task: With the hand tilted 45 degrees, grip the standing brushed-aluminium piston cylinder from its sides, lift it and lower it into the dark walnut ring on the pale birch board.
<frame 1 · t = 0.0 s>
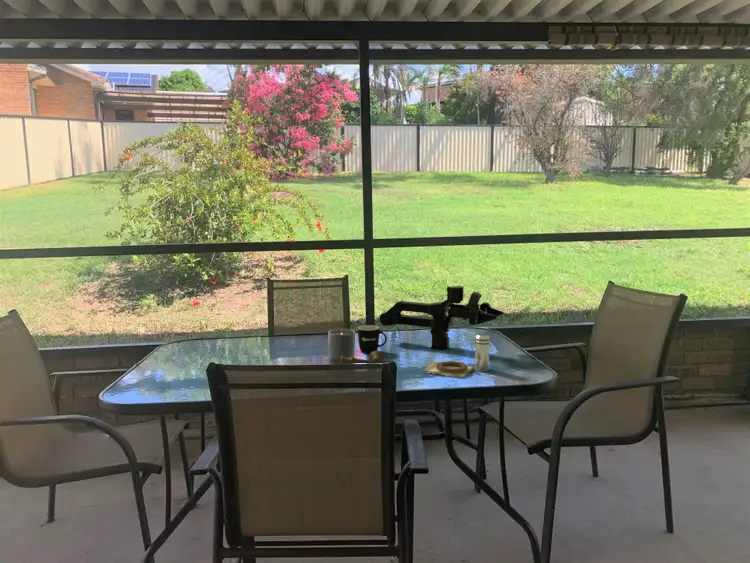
hand: (499, 315, 240), 17 cm above the table, tool horizontal, fingers open, 9 cm apart
piston: (481, 369, 224), on the table
kendama: (367, 369, 225), on the table
collar: (451, 371, 221), on the table
mug: (372, 352, 249), on the table
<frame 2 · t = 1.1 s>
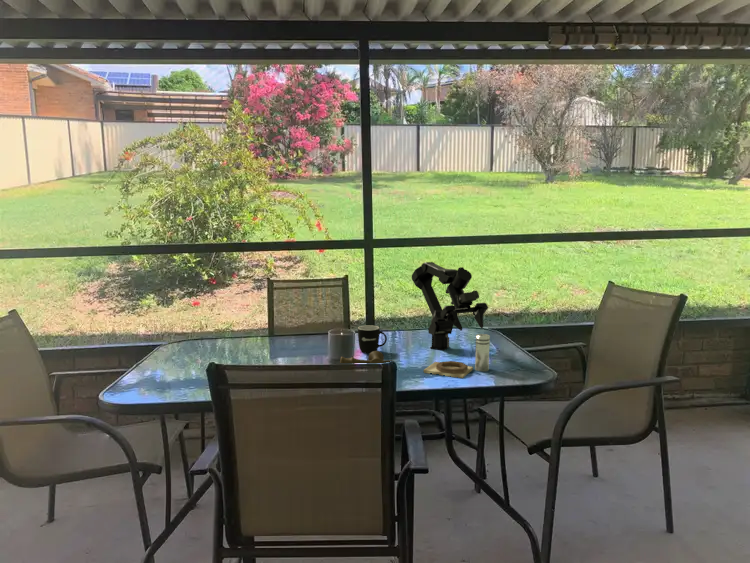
hand: (472, 328, 229), 14 cm above the table, tool tilted 45°, fingers open, 9 cm apart
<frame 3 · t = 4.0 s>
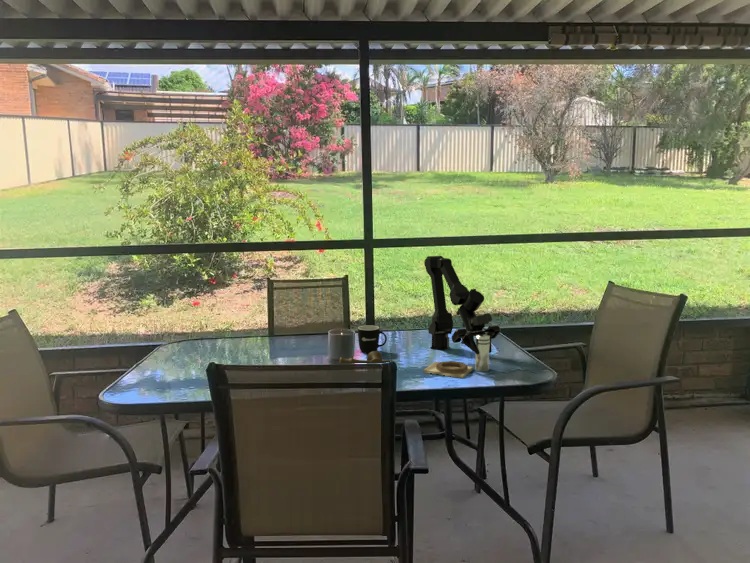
hand: (484, 353, 221), 7 cm above the table, tool tilted 45°, fingers closed on piston, 5 cm apart
piston: (481, 369, 224), on the table, touching gripper
everything else where it was.
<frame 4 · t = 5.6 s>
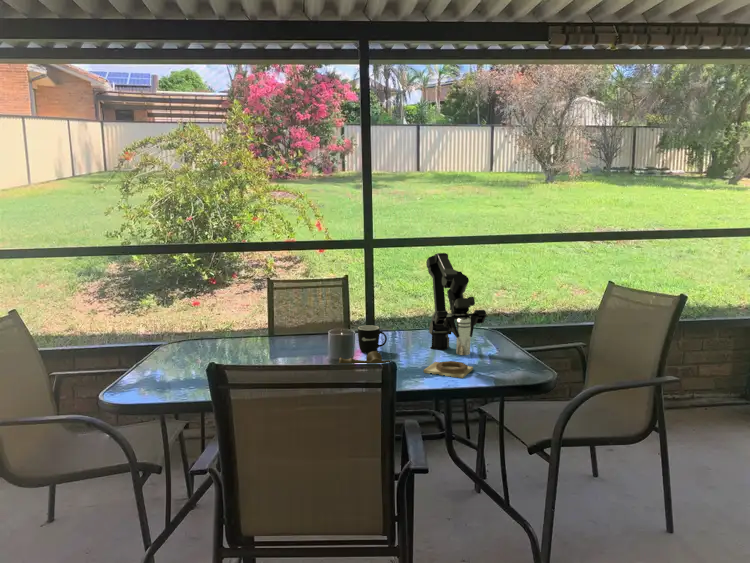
hand: (464, 336, 218), 13 cm above the table, tool tilted 45°, fingers closed on piston, 5 cm apart
piston: (463, 353, 220), point 7 cm above the table, touching gripper
when the fingers open (8 cm above the table, at t = 7.4 s): piston stays where it is, resting on collar.
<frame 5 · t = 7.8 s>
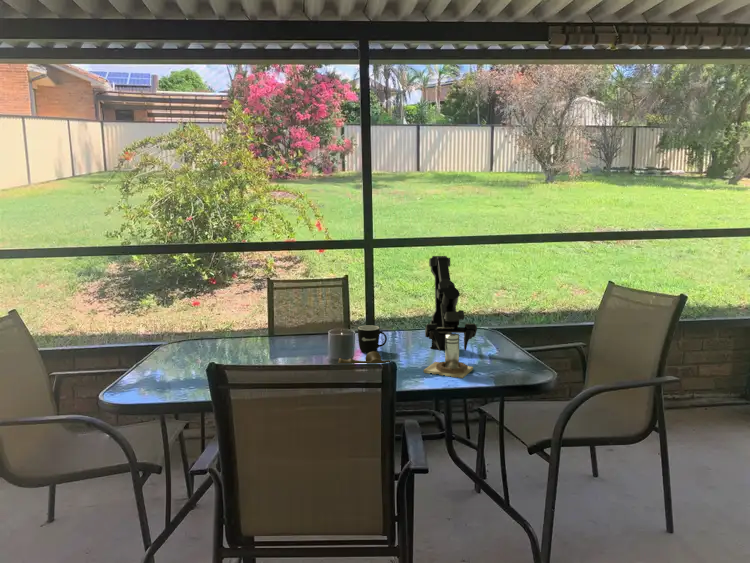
hand: (452, 350, 218), 9 cm above the table, tool tilted 45°, fingers open, 9 cm apart
piston: (451, 369, 221), point 1 cm above the table, touching collar
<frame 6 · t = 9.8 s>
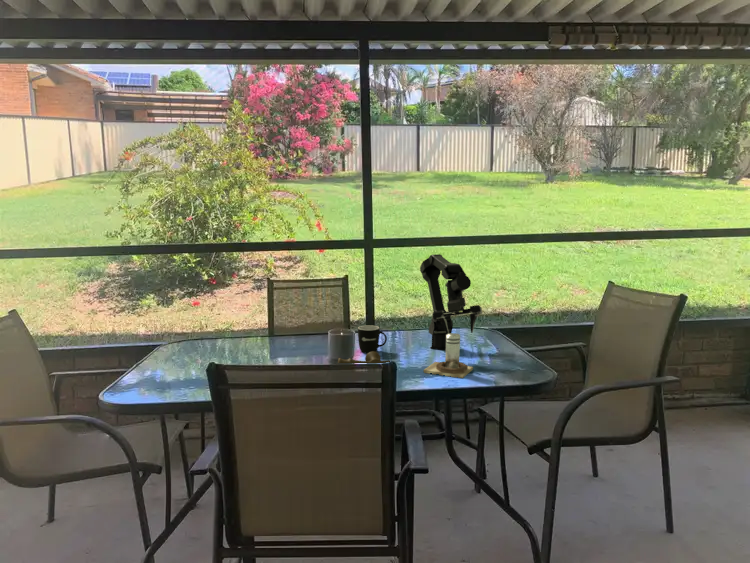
hand: (460, 334, 232), 11 cm above the table, tool tilted 20°, fingers open, 9 cm apart
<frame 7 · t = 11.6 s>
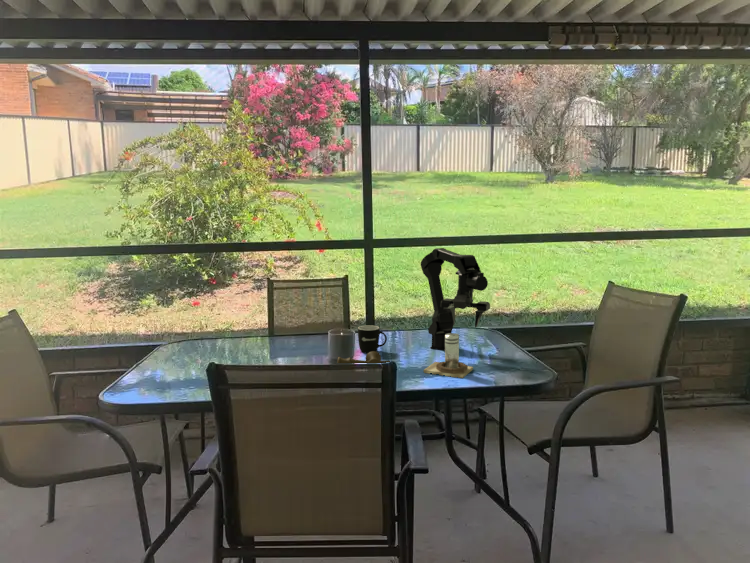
hand: (464, 326, 237), 13 cm above the table, tool pointing down, fingers open, 9 cm apart
at the end: piston 0.0 cm off-centre on the collar, point 1.1 cm above the collar's base; piston tilted 2°; the gripper is holding nothing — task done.
